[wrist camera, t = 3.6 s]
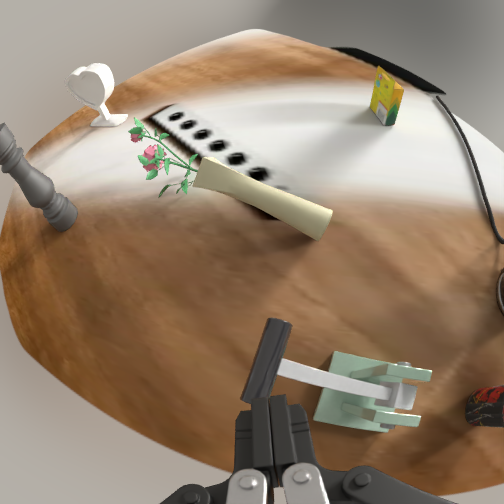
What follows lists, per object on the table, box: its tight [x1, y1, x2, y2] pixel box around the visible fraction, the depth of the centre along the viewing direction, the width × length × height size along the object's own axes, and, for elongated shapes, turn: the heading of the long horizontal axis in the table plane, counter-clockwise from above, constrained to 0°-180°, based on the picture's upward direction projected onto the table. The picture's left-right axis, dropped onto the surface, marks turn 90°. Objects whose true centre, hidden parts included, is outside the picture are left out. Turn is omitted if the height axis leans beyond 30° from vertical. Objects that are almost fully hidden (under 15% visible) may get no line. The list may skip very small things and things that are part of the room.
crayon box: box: [370, 66, 404, 125], centre depth 47 cm, size 7×3×12 cm, turn 9°
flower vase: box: [128, 117, 333, 241], centre depth 42 cm, size 12×12×35 cm
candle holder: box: [0, 123, 78, 232], centre depth 36 cm, size 6×6×25 cm
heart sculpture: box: [65, 63, 128, 127], centre depth 54 cm, size 16×5×18 cm, turn 69°
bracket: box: [312, 351, 432, 433], centre depth 24 cm, size 10×9×14 cm
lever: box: [240, 318, 417, 410], centre depth 18 cm, size 15×6×2 cm, turn 71°
